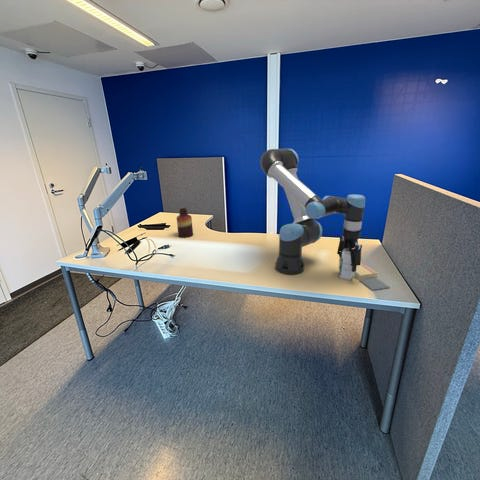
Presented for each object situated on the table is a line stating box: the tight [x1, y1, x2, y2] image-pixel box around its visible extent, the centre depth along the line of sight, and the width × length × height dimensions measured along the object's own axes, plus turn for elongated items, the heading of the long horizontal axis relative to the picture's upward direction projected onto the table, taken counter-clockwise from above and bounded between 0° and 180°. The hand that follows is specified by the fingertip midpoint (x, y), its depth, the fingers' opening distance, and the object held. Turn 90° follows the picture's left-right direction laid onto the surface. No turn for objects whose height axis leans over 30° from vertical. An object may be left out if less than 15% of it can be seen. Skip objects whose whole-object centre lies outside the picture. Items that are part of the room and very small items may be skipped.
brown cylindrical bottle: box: [176, 207, 194, 239], centre depth 188 cm, size 11×11×20 cm
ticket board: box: [354, 264, 378, 281], centre depth 128 cm, size 10×9×2 cm
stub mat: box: [358, 277, 390, 292], centre depth 119 cm, size 9×9×1 cm
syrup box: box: [338, 248, 355, 281], centre depth 124 cm, size 6×6×14 cm
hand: (346, 272), depth 126 cm, fingers closed on syrup box, 8 cm apart
